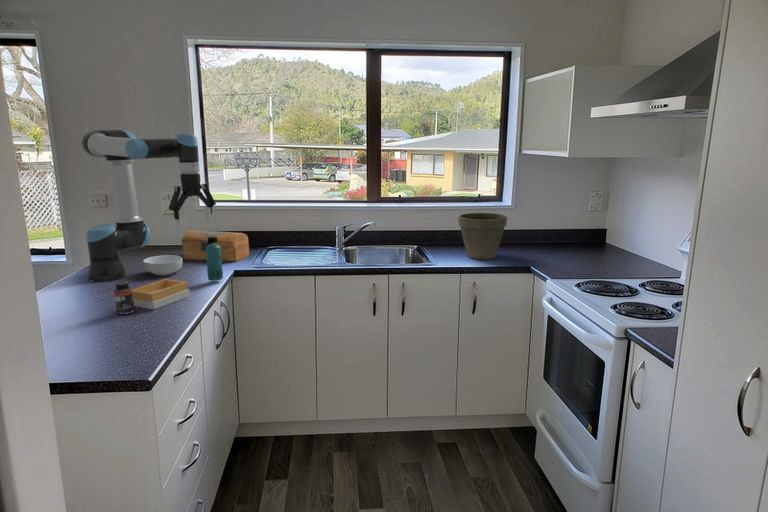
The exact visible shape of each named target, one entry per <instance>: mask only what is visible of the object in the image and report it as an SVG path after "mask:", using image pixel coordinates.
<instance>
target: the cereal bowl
mask: <svg viewBox="0 0 768 512" xmlns="http://www.w3.org/2000/svg"><path fill="white" fill-rule="evenodd" d="M142 261H143V262H142V263H143V268H144V269H145V271H146V272H148V273H150V274H154V275H155V276H158V277H159V276H160V277H161V276H169V275H173V274H174V273H175V272H178V271H180V269H181V268H182V266H183V256H180V255H173V254H171V255H170V254H165V255H155V256H150V257H147V258H145V259H143V260H142Z"/></svg>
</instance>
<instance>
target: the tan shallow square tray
mask: <svg viewBox="0 0 768 512" xmlns="http://www.w3.org/2000/svg"><path fill="white" fill-rule="evenodd" d="M187 282H188V281H182V280H174V279H170V278H169V279H167V278H164V279H160V280H158V281H155V282H154V281H153V282H151V283H148V284H146V285H142V286H139V287H137V288H132V292H133V299H134V305H136V306H142V307H148V308H153V309H155V308H158V307H161V306H164V305H167V304H169V303H172V302H175V301H177V302H179V301H178V300H180V299H183V298H185V299H187V298H186V297H188V298H189V296H190V297H191V290H190V288H188V283H187ZM183 300H184V299H183ZM180 301H181V300H180ZM175 303H176V302H175ZM172 304H173V303H172ZM167 306H168V305H167ZM164 307H165V306H164Z"/></svg>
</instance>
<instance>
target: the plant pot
mask: <svg viewBox="0 0 768 512" xmlns="http://www.w3.org/2000/svg"><path fill="white" fill-rule="evenodd" d="M457 218H458V226H459V227H460V230H461V236H462V239H463V244H464V248H465V252H466V256H467V257H468V258H469V259H474V260H492V259H494V258H496V257H497V254H498V250H499V247H500V244H501V240H502V237H503V234H504V230H505V227H507V225H508V223H507V221H508V216H507V215H506V214H502V213H493V212H469V213H462V214H458V216H457Z"/></svg>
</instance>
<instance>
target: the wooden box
mask: <svg viewBox="0 0 768 512" xmlns="http://www.w3.org/2000/svg"><path fill="white" fill-rule="evenodd" d="M209 237H217V240H218V242H216V243H208V238H209ZM210 244H218V245H219V246H220V247H221V255H222V257H221V258H222V262H223V263H236V262H239V261H241V260H243V259H245V258H247V257H249V256H250V245H249V237H248V235H247V234H246V233H243V232H232V231H231V232H229V231H211V230H187V232H185V233H184V234H183V237H182V238H181V250H182V259H185V260H184V261H201V260H205V261H206V262H207V257H206V247H207V246H208V245H210Z"/></svg>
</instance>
